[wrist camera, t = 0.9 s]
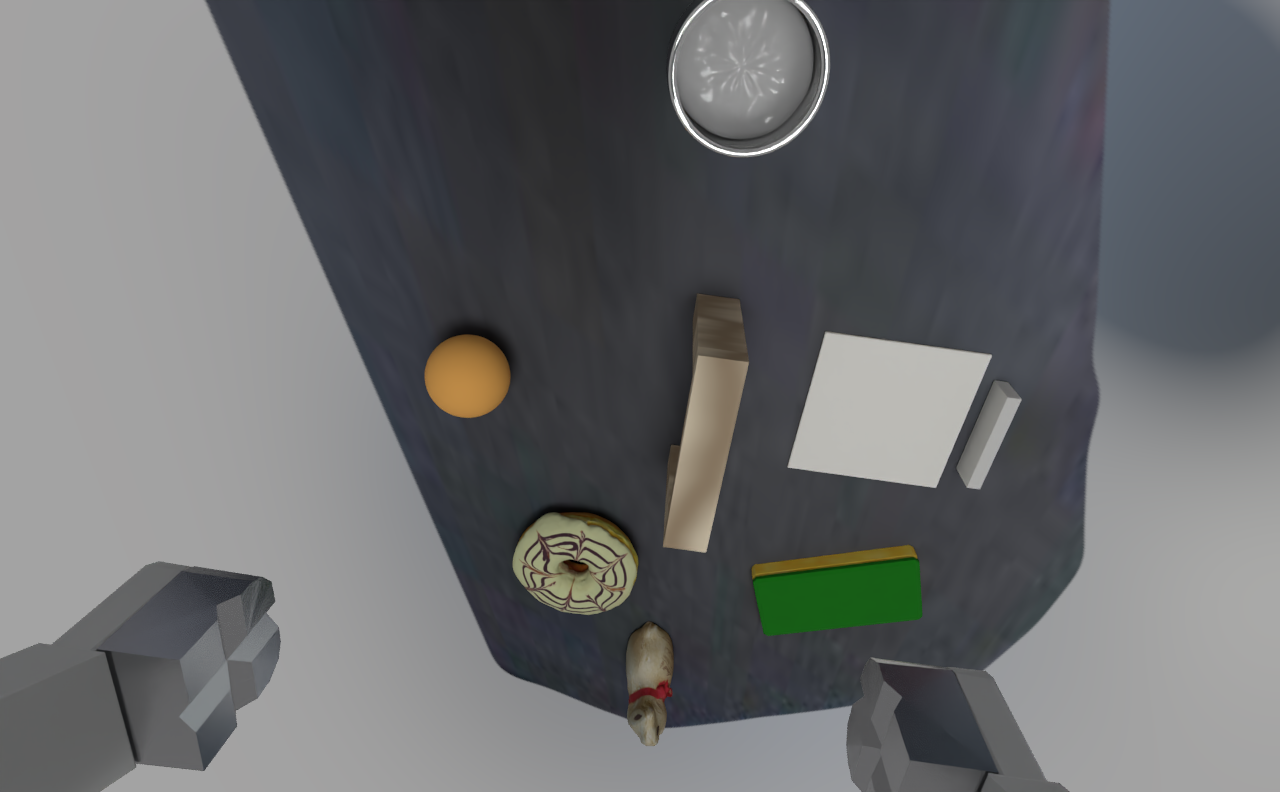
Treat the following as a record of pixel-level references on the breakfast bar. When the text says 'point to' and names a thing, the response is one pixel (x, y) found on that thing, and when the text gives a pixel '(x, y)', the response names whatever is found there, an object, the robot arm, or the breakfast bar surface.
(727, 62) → the beer glass
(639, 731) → the chocolate bunny
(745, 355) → the bridge
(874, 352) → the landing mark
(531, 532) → the decorated donut
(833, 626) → the dish sponge
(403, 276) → the breakfast bar surface
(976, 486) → the stopper
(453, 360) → the ball
